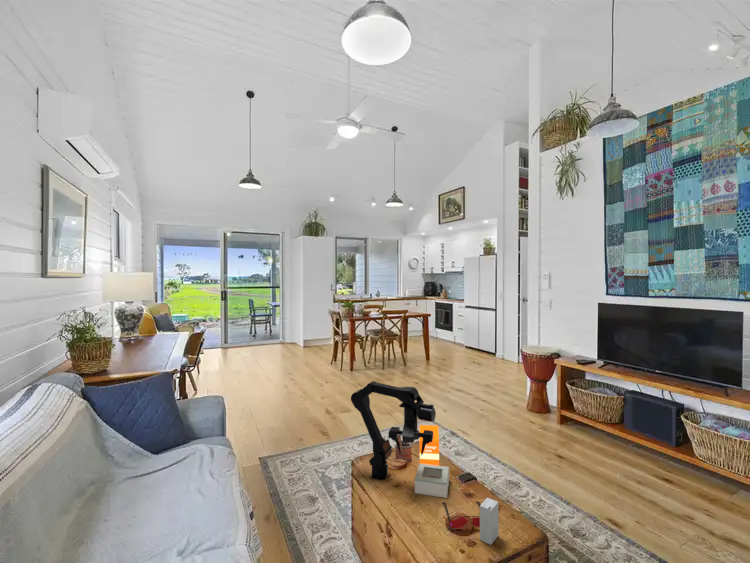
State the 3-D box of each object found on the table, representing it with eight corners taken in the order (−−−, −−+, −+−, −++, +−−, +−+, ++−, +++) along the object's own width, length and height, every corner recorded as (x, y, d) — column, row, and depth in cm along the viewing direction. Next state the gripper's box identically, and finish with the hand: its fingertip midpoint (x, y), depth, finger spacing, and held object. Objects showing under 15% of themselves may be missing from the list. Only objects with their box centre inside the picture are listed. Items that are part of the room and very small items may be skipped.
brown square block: (425, 488, 154) (425, 481, 154) (427, 481, 159) (427, 475, 159) (437, 490, 153) (437, 483, 153) (438, 483, 158) (438, 476, 157)
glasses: (450, 532, 129) (450, 518, 129) (442, 503, 145) (441, 490, 145) (490, 532, 129) (490, 517, 129) (477, 502, 145) (477, 490, 145)
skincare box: (486, 530, 129) (486, 496, 129) (499, 536, 126) (499, 501, 126) (479, 540, 124) (478, 504, 124) (491, 546, 121) (491, 510, 121)
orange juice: (420, 463, 176) (419, 421, 176) (438, 464, 175) (438, 422, 174) (419, 471, 168) (419, 428, 168) (439, 473, 167) (438, 429, 167)
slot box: (414, 493, 152) (414, 478, 151) (419, 476, 164) (419, 463, 164) (447, 497, 148) (446, 483, 148) (449, 480, 161) (449, 466, 161)
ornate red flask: (412, 459, 180) (411, 438, 180) (412, 462, 177) (411, 441, 176) (395, 458, 181) (395, 438, 181) (395, 462, 177) (394, 441, 177)
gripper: (385, 423, 153) (385, 460, 153) (430, 427, 148) (430, 466, 148) (391, 413, 163) (391, 448, 164) (433, 417, 159) (433, 453, 159)
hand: (411, 454), depth 158 cm, fingers open, 9 cm apart
